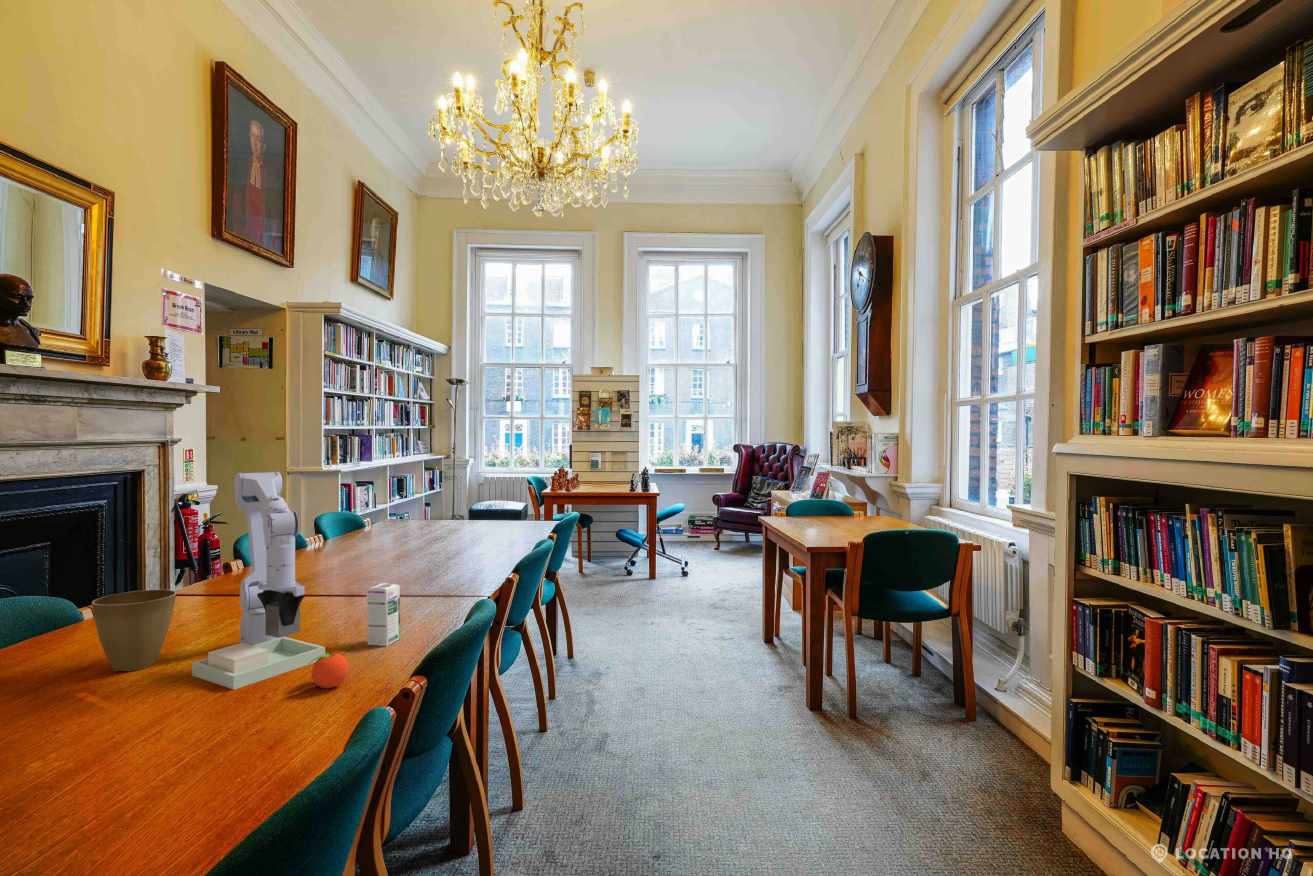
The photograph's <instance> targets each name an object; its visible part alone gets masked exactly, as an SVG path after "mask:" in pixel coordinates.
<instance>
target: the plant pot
mask: <svg viewBox="0 0 1313 876" xmlns="http://www.w3.org/2000/svg"><path fill="white" fill-rule="evenodd" d="M176 596H177V591H175V590H172V589H144V590H134V591H133V590H132V591H127V592H120V593H113V594H109V595H106V596H102V597H99V598H96V599H93V600H92V602H91V608H92V614H93V620H94V623H95V628H96V631H97V635H98V638H99V641H100V644H101V647H102V650H103V651H104V654H105V657H106V658H107V661H108V663H109V665H110V667H111V669H112V671H114V670H115V671H114V672H117V671H127V672H134V671H139V670H143V669H146V668H149V667H151V666H153V665H155V663H156V661H157V659H158V658H159V657H158V656H159V655H160V652H161V650H162V648H163V644H164V642H165V639H166V637H167V633H168V631H169V627H170V624H171V621H172V617H173V612H174V609H175V607H174V606H175V602H176V598H177V597H176ZM133 670H134V671H133Z"/></svg>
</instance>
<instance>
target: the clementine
mask: <svg viewBox="0 0 1313 876" xmlns="http://www.w3.org/2000/svg"><path fill="white" fill-rule="evenodd" d="M318 658H319V659H318ZM316 659H318V660H317V661H316V662H315V663H313V666H312V669H311V672H310V673H311V678H312V680H313V683H314V684H315V685H317V686H318V687H320V688H321V689H332V688H334V687H338V686H339V685H341V683H343V682H344V680H345V679H346V678H347V676H348V674H349V663H348V661H347V659H346V657H344V656H343V655H341V654H340V653H337V652H335V653H334V652H331V653H325V655H321V656H318V657H316V658H315V659H313V660H312V661H314V660H316ZM312 661H311V662H312ZM311 662H310V663H311ZM310 663H309V664H308V665H307V666H309V665H311V664H310Z"/></svg>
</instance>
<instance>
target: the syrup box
mask: <svg viewBox="0 0 1313 876" xmlns="http://www.w3.org/2000/svg"><path fill="white" fill-rule="evenodd" d="M400 591H401V588H400V583H393V582H391V583H390V582H388V583H386V582H384V583H383V582H382V583H379V584H377V585H373V586H371V587H368V588H367V589H366V623H367V624H366V627H367V628H366V630H367V645H368V646H369V645H370V646H375V645H378V646H377V647H388V646H390V645H391V644H393V643H395V642H397V641H400V640H401V639H402V638H401V596H400V595H401V593H400Z"/></svg>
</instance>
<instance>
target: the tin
mask: <svg viewBox="0 0 1313 876" xmlns="http://www.w3.org/2000/svg"><path fill="white" fill-rule="evenodd" d="M300 632H301V604H300V605H299V607H298V610H297V613H296V617H295V620H294V624H292V625H288V626H283V623H282V617H281V610H280V606H279V604H278V602H274V603H270V604H266V626H265V635H268V636H272V637H276V638H281V637H287V636H292V635H295V634H299V633H300Z"/></svg>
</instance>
